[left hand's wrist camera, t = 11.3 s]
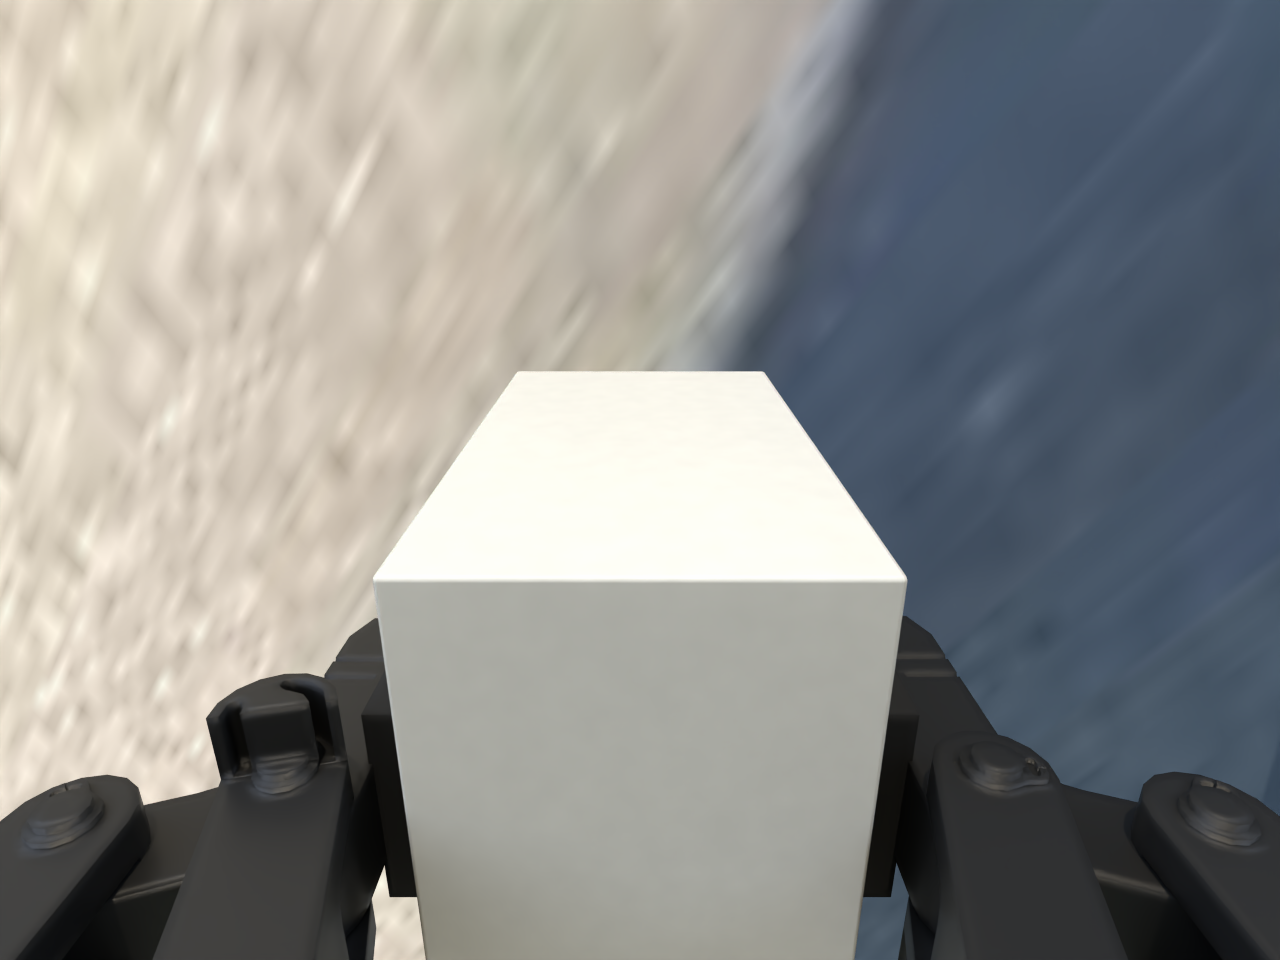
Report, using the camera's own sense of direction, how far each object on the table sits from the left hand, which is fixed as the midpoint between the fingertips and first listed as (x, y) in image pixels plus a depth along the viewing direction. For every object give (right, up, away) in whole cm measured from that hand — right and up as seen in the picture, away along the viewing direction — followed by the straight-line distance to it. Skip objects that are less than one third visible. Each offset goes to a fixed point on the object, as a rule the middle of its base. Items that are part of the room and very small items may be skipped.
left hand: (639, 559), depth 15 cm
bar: (0, -13, +6) cm, 14 cm away
